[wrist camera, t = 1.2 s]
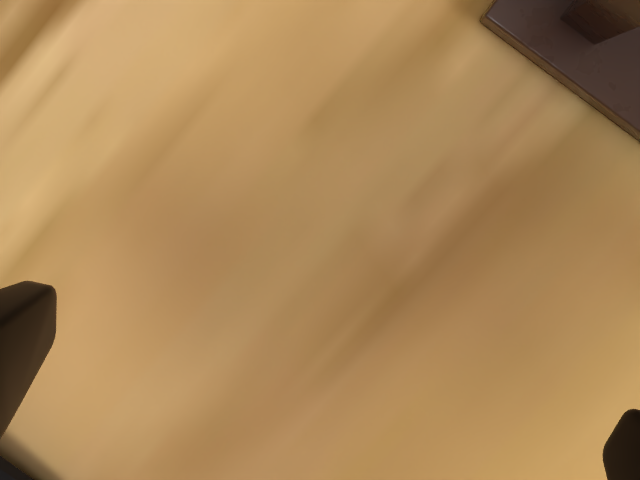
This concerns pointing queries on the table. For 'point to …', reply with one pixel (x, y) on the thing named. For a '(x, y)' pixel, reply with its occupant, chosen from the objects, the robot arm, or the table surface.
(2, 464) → the microphone
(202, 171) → the table surface
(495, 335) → the table surface
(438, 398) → the table surface
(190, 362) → the table surface
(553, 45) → the rack
